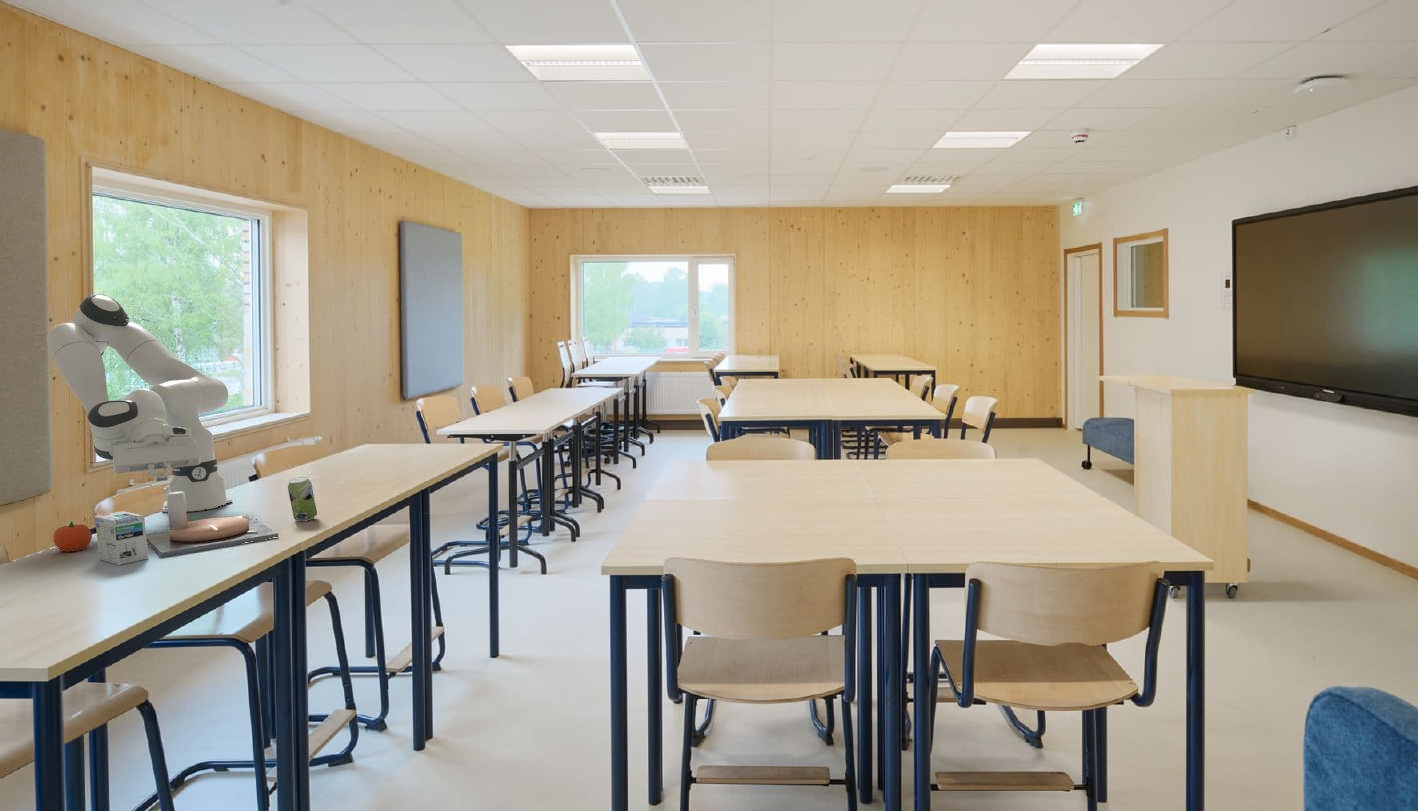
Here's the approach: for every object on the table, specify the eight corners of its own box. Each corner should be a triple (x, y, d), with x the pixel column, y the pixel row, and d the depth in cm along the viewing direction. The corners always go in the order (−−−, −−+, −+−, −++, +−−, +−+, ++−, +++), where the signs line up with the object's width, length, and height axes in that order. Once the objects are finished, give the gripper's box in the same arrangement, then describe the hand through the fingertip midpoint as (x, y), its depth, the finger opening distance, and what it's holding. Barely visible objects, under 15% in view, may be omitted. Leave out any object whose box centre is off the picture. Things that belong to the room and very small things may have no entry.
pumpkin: (99, 548, 225) (96, 519, 224) (63, 556, 218) (60, 526, 217) (83, 545, 229) (81, 516, 228) (48, 552, 222) (45, 523, 221)
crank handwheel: (163, 532, 233) (159, 491, 232) (240, 521, 245) (236, 481, 243) (176, 545, 219) (172, 500, 218) (257, 532, 231) (253, 490, 230)
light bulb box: (149, 559, 213) (145, 514, 212) (118, 566, 207) (113, 520, 206) (128, 553, 219) (124, 509, 218) (97, 560, 213) (93, 515, 212)
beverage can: (321, 517, 254) (318, 475, 253) (307, 523, 246) (304, 480, 245) (300, 517, 254) (297, 475, 253) (285, 523, 247) (282, 480, 246)
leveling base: (143, 538, 234) (142, 528, 234) (252, 521, 250) (252, 512, 250) (161, 557, 214) (160, 546, 214) (278, 537, 230) (277, 527, 230)
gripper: (107, 435, 236) (114, 477, 229) (196, 428, 248) (205, 467, 242) (107, 450, 240) (114, 492, 233) (194, 442, 252) (203, 481, 246)
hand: (161, 479), depth 237 cm, fingers closed
